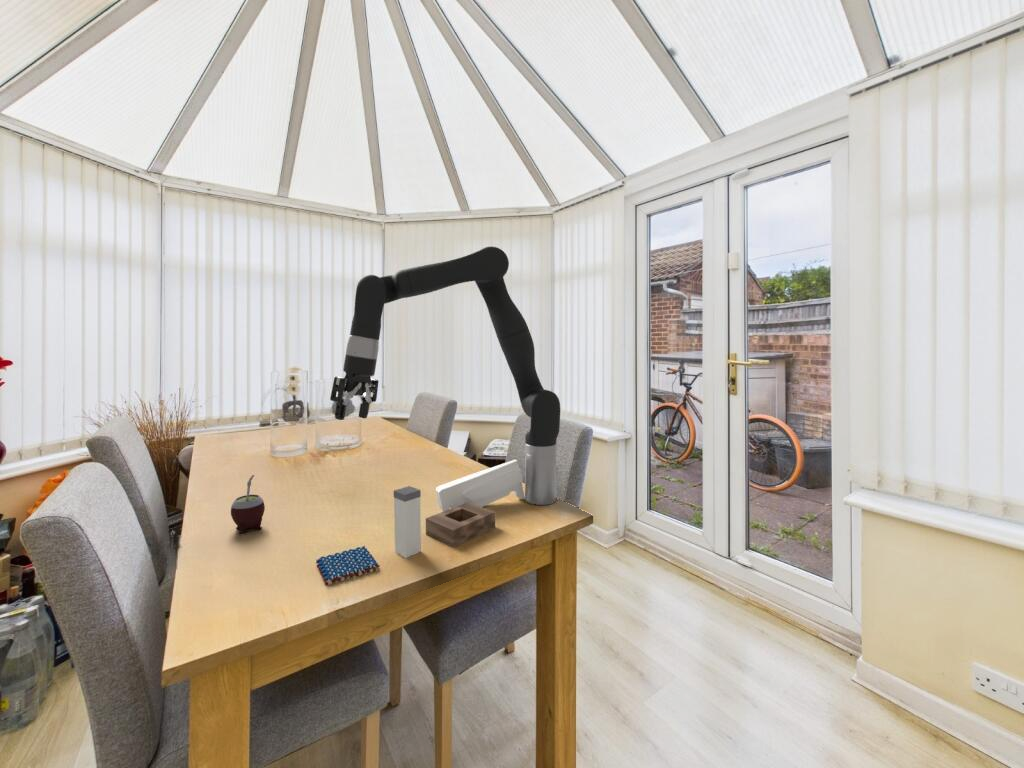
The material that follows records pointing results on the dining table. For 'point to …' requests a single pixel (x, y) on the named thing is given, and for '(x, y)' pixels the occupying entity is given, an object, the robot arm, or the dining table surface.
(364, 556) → the woven mat
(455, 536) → the brown square socket block
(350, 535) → the dining table surface
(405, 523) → the grey-capped white post
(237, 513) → the mate gourd
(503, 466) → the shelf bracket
